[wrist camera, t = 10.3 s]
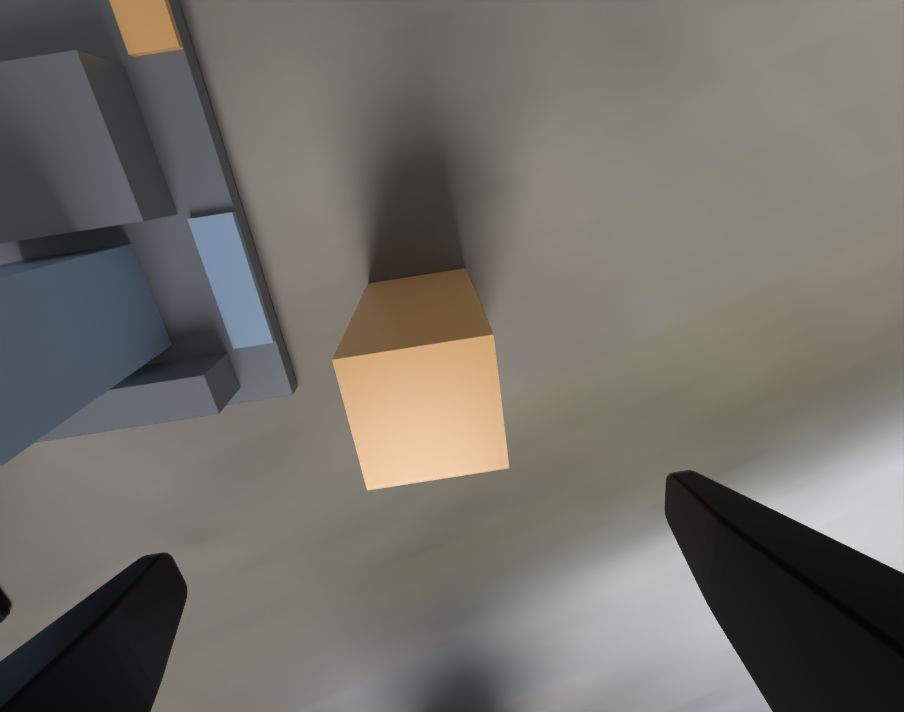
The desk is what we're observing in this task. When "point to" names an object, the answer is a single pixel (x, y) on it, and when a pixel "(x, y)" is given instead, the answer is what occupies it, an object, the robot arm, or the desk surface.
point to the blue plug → (69, 337)
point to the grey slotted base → (135, 197)
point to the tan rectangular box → (422, 381)
